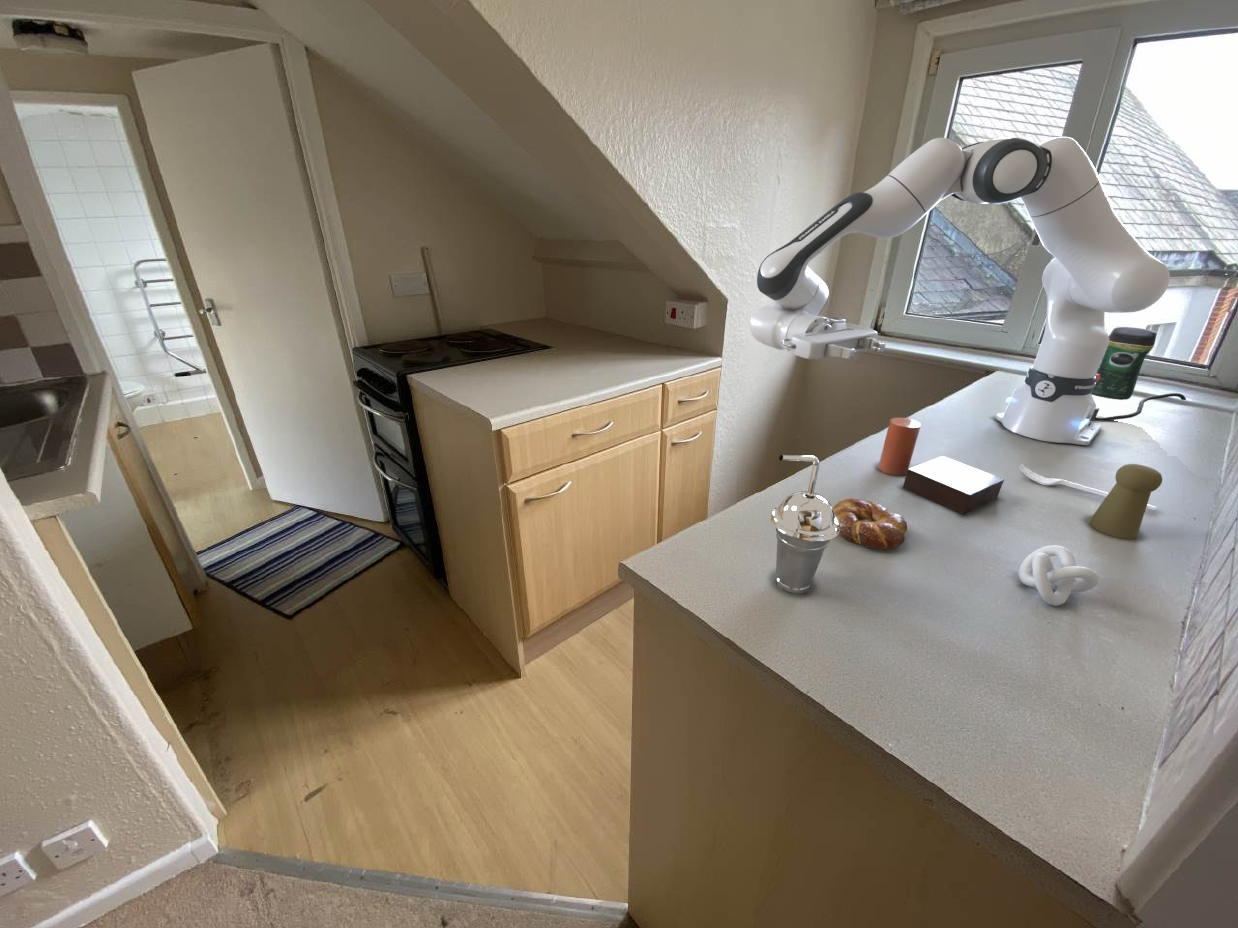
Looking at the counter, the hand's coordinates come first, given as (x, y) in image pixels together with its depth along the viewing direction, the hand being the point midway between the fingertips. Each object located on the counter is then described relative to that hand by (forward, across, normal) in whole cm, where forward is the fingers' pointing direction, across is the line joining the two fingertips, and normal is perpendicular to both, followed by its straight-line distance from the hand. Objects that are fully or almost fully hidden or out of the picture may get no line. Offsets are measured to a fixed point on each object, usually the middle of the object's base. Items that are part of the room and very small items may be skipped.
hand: (867, 351), depth 103 cm
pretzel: (+22, -24, +21) cm, 39 cm away
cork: (+42, +12, +21) cm, 49 cm away
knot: (+44, -16, +21) cm, 51 cm away
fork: (+34, +22, +21) cm, 46 cm away
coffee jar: (+13, +94, +22) cm, 97 cm away
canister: (+11, 0, +21) cm, 24 cm away
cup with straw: (+25, -44, +21) cm, 55 cm away
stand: (+22, 0, +21) cm, 30 cm away
